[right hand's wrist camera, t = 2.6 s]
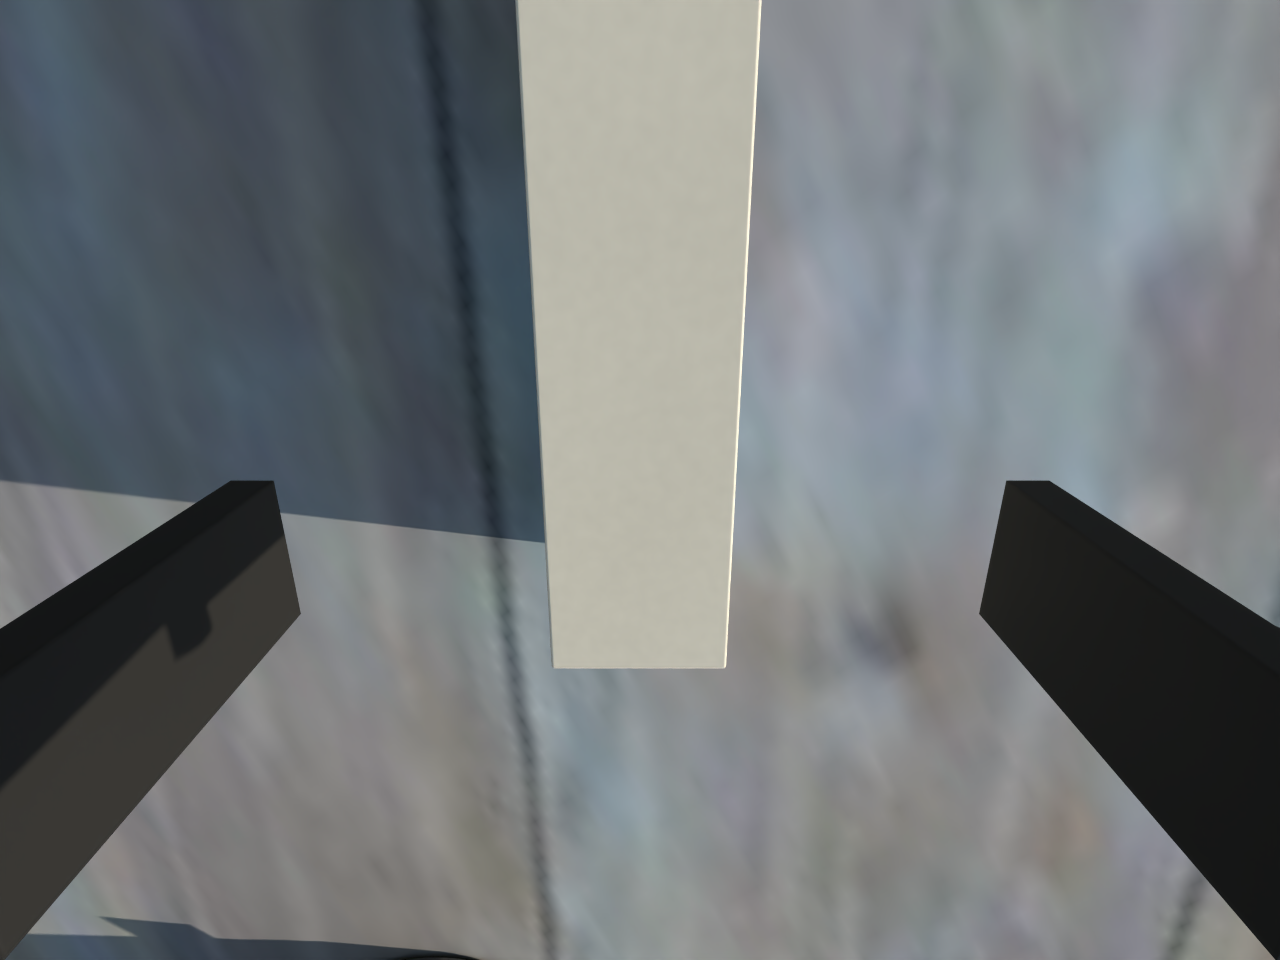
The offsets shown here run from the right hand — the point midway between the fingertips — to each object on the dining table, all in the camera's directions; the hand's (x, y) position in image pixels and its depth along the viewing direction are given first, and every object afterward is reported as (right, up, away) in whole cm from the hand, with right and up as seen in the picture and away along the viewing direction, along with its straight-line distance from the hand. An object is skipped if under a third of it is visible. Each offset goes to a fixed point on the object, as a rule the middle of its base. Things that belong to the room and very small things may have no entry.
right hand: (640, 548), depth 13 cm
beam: (0, +28, +4) cm, 28 cm away
